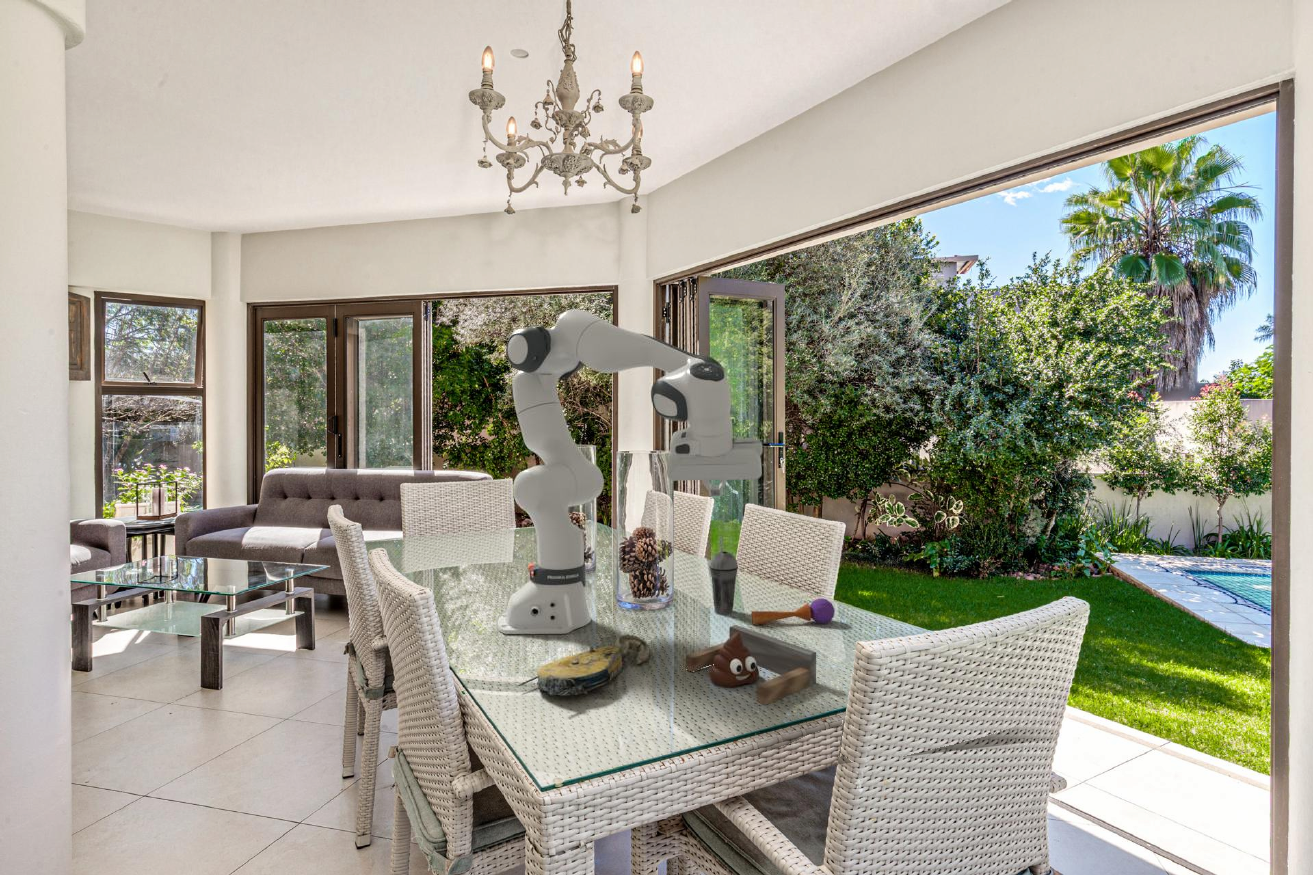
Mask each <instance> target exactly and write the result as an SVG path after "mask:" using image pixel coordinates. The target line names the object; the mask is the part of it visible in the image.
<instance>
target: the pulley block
mask: <svg viewBox="0 0 1313 875" xmlns="http://www.w3.org/2000/svg"><path fill="white" fill-rule="evenodd" d="M630 650H631V651H634V652H637V654H636V656H635V659H634V660H635V663H636V664H637V665H640V664H643V662H645V661H647V660H648V659H649V658H650V657H651V648H650V646H649V645H648V644H647V642H646V641H644V640H643V639H642V638H640V637H638V636H636V635H630V634H628V635H627V634H626V635H622V636H619V637H618V638H617V639H616V640H615V643H614V645H606V646H602V647H601V646H600V647H595V648H594V647H593V646H591V647H590V649H589V650H587V651H582V652H579V653H576V654H575V653H574V654H572V655H568V656H565V657H562V658H559V659H557V660H554V661H552V662H549V663H547V664H543V666H541V667H540V668H539V669H538V670H537V676H534V677H533V678H531V679H528V680H526V681H524V682H521V683H520V684H518V685H517V687H520V686H524V685H527V684H528V683H529V682H530V683H531V682H532V681H534V680H536V685H537V687H538V690H539V691H544V692H547V693H548V695H550V696H557V695H559V697H561V696H575V697H576V696H577V695H580V694H582V693H583V694H586V695H589V694H588V692H589V691H592V690H594V689H597V688H598V687H599V688H600V687H601V686H604V685H606V684H608V683H610V682H611V680H612V679H614V677H616V678H617V677H618V676H617V675H619V673H621V671H622V670H624V668H623V663H626V662H627V660H628V658H627V656H628V654H629V651H630Z"/></svg>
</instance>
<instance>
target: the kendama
mask: <svg viewBox="0 0 1313 875" xmlns="http://www.w3.org/2000/svg"><path fill="white" fill-rule="evenodd" d="M750 615H751V622H752V624H753V623H754V624H753V626H756V625H757V624H758V625H761V624H766V623H770V622H775V621H779V620H784V619H788V618H792V617H797V618H799V619H802V620H805V621H807V622H811V621H812V620H813V621H814V622H815V623H817V624H827V623H829V622H831V621H832V620H833V618H834V616H835V607H834V605H833V603H832V602H831V601H829V600H828V599H826V598H816V599H815V600H813V601H812V602H811V603H810V604H808V603H806V604H804V605H802V606H800V607H799V608H797V609H796V610H794V611H780V610H779V611H778V610H777V611H775V610H774V611H765V610H764V611H761V610H760V611H759V610H757V611H756V610H754V611H751V614H750Z"/></svg>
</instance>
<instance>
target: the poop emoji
mask: <svg viewBox="0 0 1313 875" xmlns="http://www.w3.org/2000/svg"><path fill="white" fill-rule="evenodd" d="M725 642H726V643H725V644H724V645H723V647H722V648H721V649H720V650H719V655H716V656H715V658H714V665H713V666H710V669H709V672H708V673H709V674H708V676H709V678H710V681H711V682H712V683H714V684H715V685H716V686H720V687H723V686H725V688H734V687H738V686H741V685H743V684H752V683H755V682H756V681H757V680H758V679H759V677H760V670H759V666H758V665H756V661H755V659H754V658H753V657H751V655H750V653H749V650H748V648H747V647H746V646H745V645H743V641H742V639H741V636H740V632H737V633H735V634H734V635H733V636H731V637H730V638H729V637H728V638H727V640H726V641H725Z"/></svg>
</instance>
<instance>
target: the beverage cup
mask: <svg viewBox="0 0 1313 875" xmlns="http://www.w3.org/2000/svg"><path fill="white" fill-rule="evenodd" d="M718 539H719V547H720V551H718V552H716V553H715V554H714V555H713V557H712V558H711V560H710V563H709V569H710V570H709V571H710V572H709V573H710V576H711V583H712V584H711V586H712V598H713V607H714V612H715V614H718V615H724V616H725V615H731V614H733V607H734V602H735V601H734V600H735V592H736V590H735V589H736V582H737V581H736V578H737V573H738V568H739V566H738V561H737V559H736V557H735V555H733V554H732V553H730V552H728V551H724V550H723V540H722V535H721V534H719V538H718Z"/></svg>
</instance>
